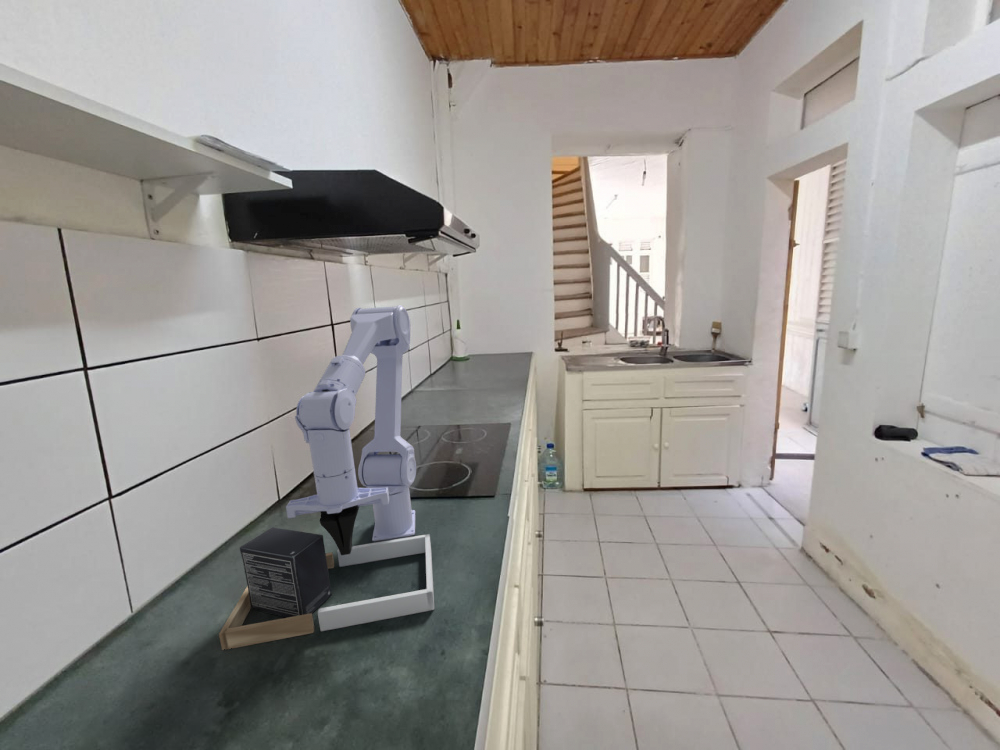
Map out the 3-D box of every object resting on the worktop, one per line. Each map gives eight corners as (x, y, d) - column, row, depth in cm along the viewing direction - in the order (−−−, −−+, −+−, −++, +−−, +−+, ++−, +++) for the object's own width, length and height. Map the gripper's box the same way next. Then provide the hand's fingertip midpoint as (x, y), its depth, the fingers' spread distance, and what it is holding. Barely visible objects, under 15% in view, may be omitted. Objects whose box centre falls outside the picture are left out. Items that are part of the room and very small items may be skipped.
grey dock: (340, 564, 74) (338, 548, 74) (431, 548, 77) (429, 533, 77) (320, 631, 59) (317, 612, 59) (434, 609, 62) (432, 591, 61)
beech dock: (263, 576, 72) (260, 563, 72) (334, 565, 74) (332, 552, 74) (222, 650, 57) (218, 634, 57) (313, 632, 59) (310, 617, 59)
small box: (335, 593, 67) (325, 532, 65) (304, 623, 61) (292, 558, 59) (283, 582, 71) (273, 524, 69) (249, 609, 65) (236, 547, 63)
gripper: (273, 487, 59) (289, 575, 61) (381, 473, 61) (392, 558, 63) (289, 467, 65) (302, 547, 68) (385, 455, 68) (395, 533, 70)
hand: (346, 551), depth 66 cm, fingers closed
